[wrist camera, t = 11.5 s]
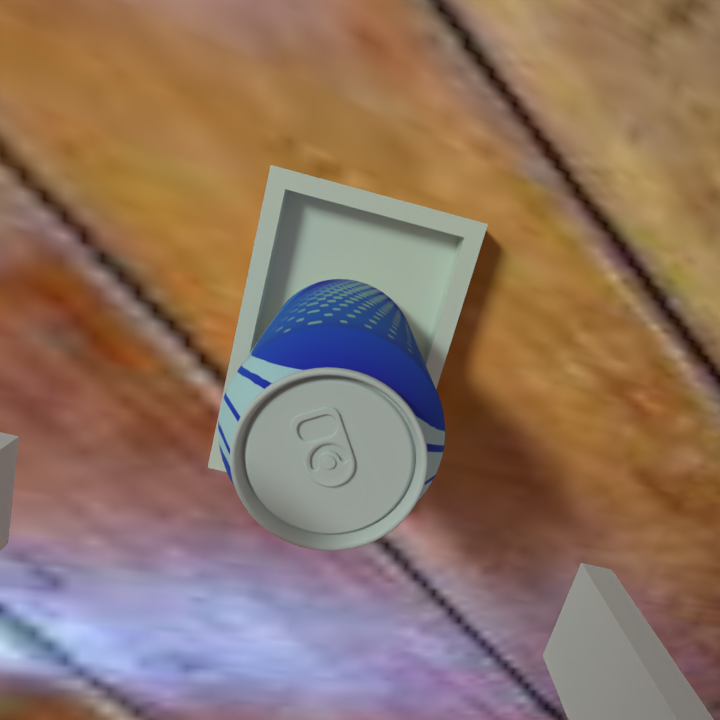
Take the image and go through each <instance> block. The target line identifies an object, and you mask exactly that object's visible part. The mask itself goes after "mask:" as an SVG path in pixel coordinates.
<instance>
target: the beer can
mask: <svg viewBox="0 0 720 720" xmlns="http://www.w3.org/2000/svg"><path fill="white" fill-rule="evenodd" d="M218 440H219V447H220V452H221V456H222V460H223V463H224V465H225V468H226V471H227V473H228V475H229V477H230V479H231V481H232V483H233V484H234V486H235V489H236V492H237V494H238V496H239V498H240V500H241V502H242V503H243V505H244V507H245V508H246V509H247V511H248V512H249V513H250V515H251V516H252V517H253V518H254V519H255V520H256V521H257V522H258V523H259V524H260V525H261V526H262V527H264V528H265V529H266V530H268V531H269V532H270V533H272V534H273V535H275V536H277V537H278V538H280V539H282V540H284V541H286V542H289V543H291V544H294V545H297V546H300V547H304V548H308V549H314V550H324V551H336V550H346V549H351V548H356V547H360V546H363V545H366V544H368V543H371V542H373V541H375V540H377V539H379V538H381V537H383V536H385V535H386V534H388V533H389V532H391V531H392V530H393V529H394V528H396V527H397V526H398V525H399V524H400V523H401V522H402V521H403V520H404V519H405V518H406V517H407V516H408V514H409V513H410V512H411V511H412V509H413V508H414V506H415V505H416V503H417V502H418V501H419V500H420V498H421V497H422V496H423V495H424V493H425V492H426V491H427V489H428V488H429V486H430V484H431V483H432V481H433V479H434V477H435V475H436V473H437V470H438V468H439V465H440V462H441V459H442V455H443V450H444V443H445V422H444V414H443V409H442V405H441V402H440V399H439V396H438V393H437V391H436V388H435V386H434V383H433V381H432V379H431V376H430V374H429V372H428V369H427V367H426V364H425V362H424V360H423V357H422V355H421V352H420V350H419V348H418V345H417V343H416V341H415V338H414V336H413V333H412V331H411V329H410V326H409V324H408V322H407V320H406V318H405V316H404V314H403V313H402V311H401V310H400V308H399V307H398V306H397V305H396V303H395V302H394V301H393V300H392V299H391V298H389V297H388V296H387V295H386V294H384V293H383V292H382V291H380V290H378V289H377V288H375V287H373V286H371V285H368V284H366V283H363V282H359V281H355V280H349V279H331V280H325V281H321V282H317V283H315V284H312V285H310V286H308V287H305V288H304V289H302V290H300V291H299V292H297V293H296V294H295V295H293V296H292V297H291V298H290V299H289V300H288V301H287V302H286V303H285V304H284V305H283V306H282V308H281V309H280V311H279V312H278V313H277V315H276V316H275V318H274V319H273V321H272V322H271V323H270V325H269V326H268V328H267V329H266V331H265V332H264V333H263V335H262V336H261V338H260V339H259V341H258V342H257V343H256V345H255V346H254V348H253V349H252V351H251V352H250V353H249V355H248V356H247V358H246V359H245V361H244V362H243V363H242V365H241V366H240V368H239V369H238V371H237V372H236V373H235V375H234V377H233V378H232V380H231V382H230V384H229V386H228V388H227V390H226V393H225V395H224V398H223V402H222V405H221V409H220V414H219V422H218Z"/></svg>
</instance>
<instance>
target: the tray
mask: <svg viewBox="0 0 720 720" xmlns="http://www.w3.org/2000/svg"><path fill="white" fill-rule="evenodd" d="M487 226H488V224H485V223H482V222H478V221H474V220H471V219H467V218H463V217H460V216H456V215H452V214H449V213H445V212H441V211H438V210H434V209H430V208H427V207H423V206H419V205H416V204H412V203H408V202H405V201H401V200H397V199H394V198H390V197H386V196H383V195H379V194H375V193H372V192H368V191H364V190H361V189H357V188H353V187H350V186H346V185H342V184H339V183H335V182H331V181H328V180H324V179H320V178H317V177H313V176H309V175H306V174H302V173H298V172H295V171H291V170H287V169H284V168H280V167H276V166H273V165H271V166H270V171H269V176H268V180H267V185H266V190H265V195H264V200H263V205H262V209H261V214H260V219H259V224H258V229H257V233H256V238H255V243H254V248H253V253H252V257H251V262H250V267H249V272H248V277H247V281H246V286H245V291H244V296H243V301H242V305H241V310H240V315H239V320H238V325H237V329H236V334H235V339H234V344H233V349H232V353H231V358H230V363H229V368H228V373H227V377H226V382H225V387H224V392H223V397H222V401H221V405H222V402H223V398H224V395H225V393H226V390H227V388H228V386H229V384H230V382H231V380H232V378H233V377H234V375H235V373H236V372H237V371H238V369H239V368H240V366H241V365H242V363H243V362H244V361H245V359H246V358H247V356H248V355H249V353H250V352H251V351H252V349H253V348H254V346H255V345H256V343H257V342H258V341H259V339H260V338H261V336H262V335H263V333H264V332H265V331H266V329H267V328H268V326H269V325H270V323H271V322H272V321H273V319H274V318H275V316H276V315H277V313H278V312H279V311H280V309H281V308H282V306H283V305H284V304H285V303H286V302H287V301H288V300H289V299H290V298H291V297H292V296H293V295H295V294H296V293H297V292H299V291H300V290H302V289H304V288H305V287H308V286H310V285H312V284H315V283H317V282H321V281H325V280H331V279H349V280H355V281H359V282H363V283H366V284H368V285H371V286H373V287H375V288H377V289H378V290H380V291H382V292H383V293H384V294H386V295H387V296H388V297H389V298H391V299H392V300H393V301H394V302H395V303H396V305H397V306H398V307H399V308H400V310H401V311H402V313H403V314H404V316H405V318H406V320H407V322H408V324H409V326H410V329H411V331H412V333H413V336H414V338H415V341H416V343H417V345H418V348H419V350H420V352H421V355H422V357H423V360H424V362H425V364H426V367H427V369H428V372H429V374H430V376H431V379H432V381H433V383H434V386H435V388H436V389H437V386H438V382H439V379H440V376H441V373H442V370H443V366H444V363H445V360H446V357H447V354H448V350H449V347H450V344H451V341H452V338H453V334H454V331H455V328H456V325H457V322H458V318H459V315H460V312H461V309H462V306H463V302H464V299H465V296H466V293H467V290H468V286H469V283H470V280H471V277H472V274H473V270H474V267H475V264H476V261H477V258H478V254H479V251H480V248H481V245H482V242H483V238H484V235H485V232H486V229H487ZM220 409H221V406H220ZM219 414H220V411H219ZM218 422H219V416H218V421H217V425H216V430H215V435H214V440H213V445H212V449H211V454H210V459H209V464H208V468H212V469H216V470H220V471H224V472H227V471H226V468H225V465H224V463H223V460H222V456H221V452H220V447H219V440H218Z"/></svg>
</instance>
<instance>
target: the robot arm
mask: <svg viewBox="0 0 720 720" xmlns="http://www.w3.org/2000/svg"><path fill="white" fill-rule="evenodd" d="M18 438H19V436H14V435H10V434H5V433H1V432H0V550H1V549H2V548H3V547H4V546H5V545H6V544H7V543H8V538H9V528H10V518H11V508H12V498H13V488H14V478H15V468H16V458H17V448H18ZM543 658H544V661H545V663H546V666H547V668H548V671H549V673H550V676H551V678H552V681H553V683H554V686H555V688H556V690H557V693H558V695H559V698H560V700H561V703H562V705H563V708H564V710H565V713H566V715H567V718H568V720H714V719H713V718H712V716H711V715H710V713H709V712H708V710H707V709H706V707H705V706H704V704H703V703H702V701H701V700H700V698H699V697H698V696H697V694H696V693H695V691H694V690H693V688H692V687H691V685H690V684H689V682H688V681H687V679H686V678H685V676H684V675H683V674H682V672H681V671H680V669H679V668H678V666H677V665H676V663H675V662H674V660H673V659H672V657H671V656H670V654H669V653H668V652H667V650H666V649H665V647H664V646H663V644H662V643H661V641H660V640H659V638H658V637H657V635H656V634H655V632H654V631H653V630H652V628H651V627H650V625H649V624H648V622H647V621H646V619H645V618H644V616H643V615H642V613H641V612H640V611H639V609H638V608H637V606H636V605H635V603H634V602H633V600H632V599H631V597H630V596H629V594H628V593H627V591H626V590H625V589H624V587H623V586H622V584H621V583H620V581H619V580H618V578H617V577H616V575H615V574H614V572H613V571H612V570H611V569H607V568H602V567H598V566H593V565H589V564H584V563H581V564H580V567H579V569H578V572H577V574H576V576H575V579H574V581H573V584H572V586H571V588H570V591H569V593H568V596H567V598H566V600H565V603H564V605H563V608H562V610H561V612H560V615H559V617H558V620H557V622H556V624H555V627H554V629H553V632H552V634H551V636H550V639H549V641H548V644H547V646H546V648H545V651H544V653H543Z"/></svg>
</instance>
